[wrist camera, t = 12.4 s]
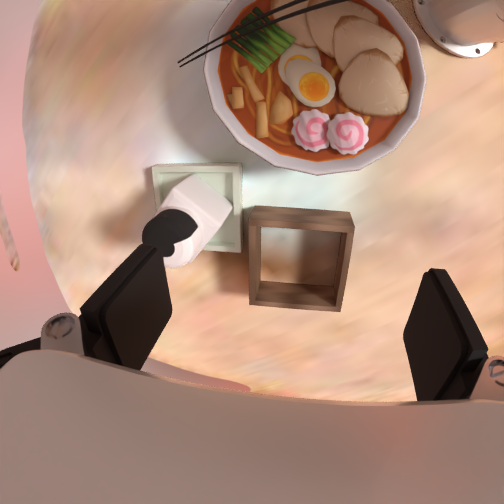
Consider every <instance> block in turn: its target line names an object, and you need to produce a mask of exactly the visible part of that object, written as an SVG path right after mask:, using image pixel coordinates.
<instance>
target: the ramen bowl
mask: <svg viewBox="0 0 504 504" xmlns="http://www.w3.org/2000/svg"><path fill="white" fill-rule="evenodd" d="M205 47H207V49H206V52H204V53H202V54H200V55H198V56H197V57H195V58H193V59H191V60H189V61H188V62H186V63H184V64H183V65H181V66H179V67H182V66H184V65H186V64H187V63H189V62H191V61H193V60H195V59H197V58H199V57H201V56H202V55H204V54H206V55H205V61H204V68H203V72H204V76H205V80H206V84H207V88H208V92H209V96H210V100H211V104H212V108H213V111H214V112H215V113H216V114H217V116H218V117H219V118H220V120H221V121H222V122H223V123H224V125H225V126H226V127H227V129H228V130H229V131H230V133H231V134H232V135H233V137H234V138H235V139H236V141H237V142H238V143H239V144H241V145H242V146H244V147H245V148H247V149H249V150H250V151H252V152H253V153H255V154H256V155H258V156H259V157H261V158H263V159H264V160H266V161H267V162H269V163H270V164H272V165H273V166H275V167H280V168H284V169H289V170H294V171H299V172H303V173H308V174H312V175H317V176H318V175H326V174H333V173H341V172H349V171H357V170H361V169H362V168H364V167H366V166H368V165H369V164H371V163H373V162H375V161H376V160H378V159H380V158H381V157H383V156H385V155H387V154H388V153H390V152H392V151H394V150H395V149H396V148H397V146H398V145H399V144H400V142H401V141H402V140H403V139H404V137H405V136H406V135H407V133H408V132H409V131H410V129H411V128H412V127H413V125H414V124H415V123H416V121H417V120H418V119H419V115H420V110H421V106H422V101H423V96H424V90H425V85H426V73H425V68H424V64H423V59H422V54H421V50H420V46H419V42H418V39H417V37H416V36H415V34H414V33H413V31H412V30H411V28H410V27H409V25H408V24H407V23H406V21H405V20H404V19H403V17H402V16H401V15H400V13H399V12H398V11H397V9H396V8H395V7H394V5H393V4H392V3H390V2H389V1H387V0H231V2H230V3H229V4H228V6H227V7H226V8H225V10H224V11H223V13H222V14H221V15H220V17H219V18H218V20H217V21H216V23H215V24H214V26H213V27H212V29H211V30H210V32H209V37H208V43H207V44H206V45H204V46H202V47H201V48H199V49H197V50H196V51H194V52H193V53H191V54H189V55H188V56H186V57H185V58H183V59H182V60H180V61H179V62H177V63H180V62H181V61H183V60H184V59H186V58H188V57H189V56H191V55H193V54H194V53H196V52H198V51H200V50H201V49H203V48H205Z"/></svg>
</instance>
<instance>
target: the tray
mask: <svg viewBox="0 0 504 504" xmlns="http://www.w3.org/2000/svg"><path fill="white" fill-rule="evenodd" d="M191 174H195V175H197V176H198V177H199V178H201V179H202V180H203V181H204V182H206V183H207V184H208V185H209V186H211V187H212V188H213V189H215V190H216V191H217V192H218V193H220V194H221V195H222V196H223V197H225V198H226V199H227V200H228V201H230V202H231V203H232V204H233V205H234V207H233V209H232V210H231V212H230V213H229V215H228V216H227V218H226V219H225V221H224V223H223V224H222V226H221V227H220V228H219V229H218V231H217V232H216V233H215V234H214V236H213V237H212V238H211V239H210V240H209V242H208V243H207V244H206V245H205V247H204V248H203V249H202V250H210V251H223V252H237V253H241V251H242V249H243V206H242V163H180V164H157V165H155V166H153V167H152V177H153V186H154V195H155V204H156V212H157V210H158V209H159V207H160V206H161V204H162V203H163V201H164V200H165V198H166V197H167V195H168V193H169V192H170V190H171V189H172V188H173V187H174V186H176V185H177V184H178V183H180V182H181V181H183V180H184V179H186V178H187V177H188V176H190V175H191Z"/></svg>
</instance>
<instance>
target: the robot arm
mask: <svg viewBox="0 0 504 504" xmlns="http://www.w3.org/2000/svg"><path fill="white" fill-rule="evenodd" d="M418 2H419V3H420V4H421V5H420V4H419V3H418ZM413 5H414V9H415V13H416V15H417V18H418V20H419V22H420V24H421V25H422V27H423V29H424V30H425V31H426V33H427V34H428V35H429V36H430V37H431V38H432V39H433V40H434V41H435V43H437V44H438V45H439V46H440V47H442V48H443V49H444V50H446V51H448V52H449V53H451V54H454V55H456V56H459V57H463V58H477V57H481V56H483V55H485V54H486V53H488V52H489V51H490V49H491V48H492V46H493V44H494V42H500V43H503V42H504V0H413ZM440 39H441V40H442V42H441V41H440ZM80 311H81V315H80V316H79V317H77V316H76V315H75V314H73V313H60V314H57V315H55V316H53V317H51V318H50V319H49V320H48V321H47V322H46V323H45V324H44V325H43V327H42V331H41V337H40V338H36V339H33V340H30V341H27V342H24V343H21V344H18V345H15V346H12V347H9V348H6V349H4V350H2V351H0V504H504V357H502V356H492V357H490V358H488V355H487V351H488V347H487V345H486V343H485V341H484V339H483V337H482V335H481V333H480V331H479V329H478V327H477V325H476V323H475V321H474V319H473V317H472V315H471V313H470V311H469V309H468V308H467V306H466V304H465V302H464V300H463V298H462V297H461V295H460V293H459V291H458V290H457V288H456V286H455V284H454V283H453V281H452V279H451V278H450V276H449V274H448V273H447V271H446V270H445V269H434V268H431V269H429V271H428V272H425V273H424V275H423V277H422V281H421V284H420V287H419V290H418V293H417V296H416V299H415V302H414V305H413V308H412V310H411V313H410V316H409V319H408V321H407V324H406V327H405V329H404V333H403V339H404V344H405V348H406V352H407V356H408V360H409V364H410V368H411V373H412V377H413V382H414V387H415V392H416V397H417V401H408V402H357V401H333V400H317V399H304V398H293V397H283V396H274V395H266V394H258V393H250V392H244V391H237V390H230V389H224V388H219V387H213V386H207V385H201V384H197V383H192V382H187V381H182V380H177V379H173V378H168V377H164V376H159V375H155V374H151V373H147V372H143V371H140V370H141V368H142V366H143V364H144V363H145V361H146V359H147V357H148V356H149V354H150V352H151V350H152V349H153V347H154V345H155V343H156V342H157V340H158V338H159V336H160V335H161V333H162V331H163V329H164V328H165V326H166V324H167V323H168V321H169V319H170V317H171V315H172V304H171V299H170V294H169V288H168V283H167V277H166V271H165V265H164V259H163V253H162V251H161V250H160V249H158V247H157V246H156V245H149V244H141V245H139V246H138V247H137V248H136V249H135V250H134V251H133V252H132V253H131V254H130V256H129V257H128V258H127V259H126V260H125V261H124V262H123V263H122V264H121V265H120V266H119V267H118V268H117V269H116V270H115V271H114V272H113V273H112V274H111V275H110V276H109V277H108V278H107V279H106V280H105V281H104V282H103V284H102V285H101V286H100V287H99V288H98V289H97V290H96V291H95V292H94V293H93V294H92V295H91V297H90V298H89V299H88V300H87V301H86V302H85V303H84V304H83V305H82V306H81V308H80Z"/></svg>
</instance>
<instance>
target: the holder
mask: <svg viewBox="0 0 504 504" xmlns="http://www.w3.org/2000/svg"><path fill="white" fill-rule="evenodd" d="M261 226H262V227H277V228H292V229H306V230H320V231H333V232H341V239H340V247H339V254H338V261H337V268H336V275H335V281H334V286H319V285H306V284H293V283H280V282H268V281H260V276H261ZM354 229H355V226H354V223H353V220H352V217H351V214H350V212H343V211H330V210H317V209H303V208H288V207H272V206H255V207H254V209H253V211H252V213H251V215H250V217H249V219H248V233H249V305H258V306H268V307H279V308H291V309H304V310H318V311H332V312H340V311H341V306H342V301H343V296H344V290H345V285H346V279H347V274H348V268H349V262H350V256H351V249H352V243H353V236H354Z"/></svg>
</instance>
